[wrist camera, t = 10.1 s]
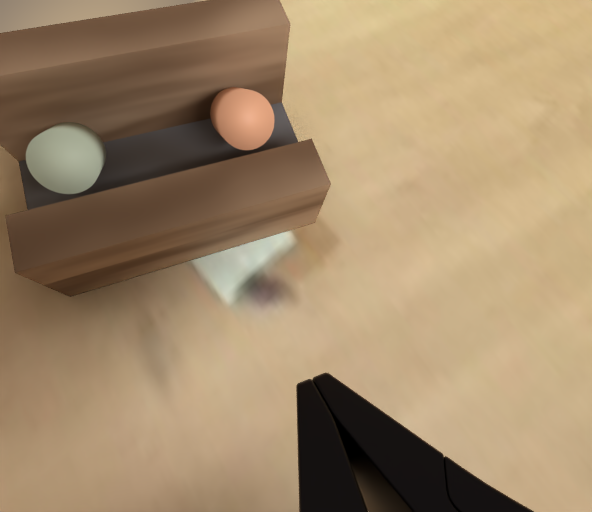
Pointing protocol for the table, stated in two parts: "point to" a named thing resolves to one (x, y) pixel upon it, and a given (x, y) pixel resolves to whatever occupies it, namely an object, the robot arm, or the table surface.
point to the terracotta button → (242, 117)
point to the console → (153, 140)
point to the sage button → (66, 157)
